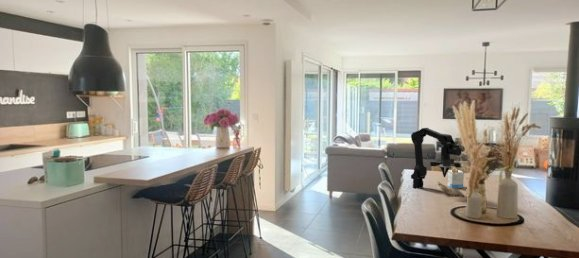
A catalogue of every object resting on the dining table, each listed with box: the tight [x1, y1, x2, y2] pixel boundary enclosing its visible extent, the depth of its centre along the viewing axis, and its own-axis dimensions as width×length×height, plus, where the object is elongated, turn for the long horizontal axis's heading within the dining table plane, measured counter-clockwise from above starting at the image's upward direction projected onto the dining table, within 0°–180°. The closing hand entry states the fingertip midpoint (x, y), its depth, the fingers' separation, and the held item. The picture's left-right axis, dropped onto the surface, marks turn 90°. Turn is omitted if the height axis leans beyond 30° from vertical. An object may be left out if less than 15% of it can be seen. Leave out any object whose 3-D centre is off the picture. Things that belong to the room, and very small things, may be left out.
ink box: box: [447, 169, 465, 189], centre depth 292 cm, size 9×8×13 cm
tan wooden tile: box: [449, 187, 464, 198], centre depth 273 cm, size 6×18×1 cm, turn 168°
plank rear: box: [436, 181, 451, 191], centre depth 280 cm, size 9×7×1 cm
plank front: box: [438, 185, 454, 197], centre depth 269 cm, size 9×7×1 cm
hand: (444, 177), depth 268 cm, fingers closed
